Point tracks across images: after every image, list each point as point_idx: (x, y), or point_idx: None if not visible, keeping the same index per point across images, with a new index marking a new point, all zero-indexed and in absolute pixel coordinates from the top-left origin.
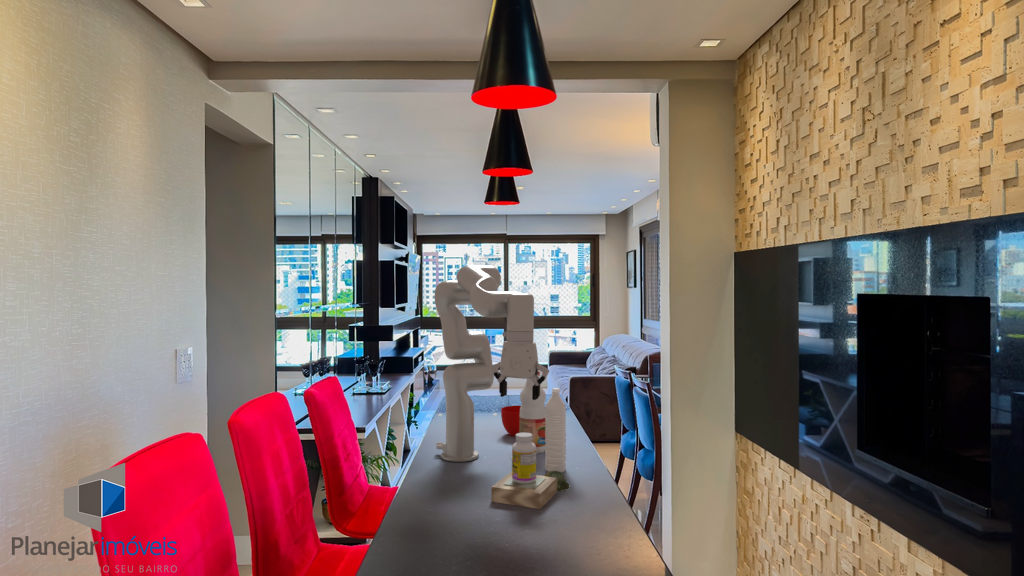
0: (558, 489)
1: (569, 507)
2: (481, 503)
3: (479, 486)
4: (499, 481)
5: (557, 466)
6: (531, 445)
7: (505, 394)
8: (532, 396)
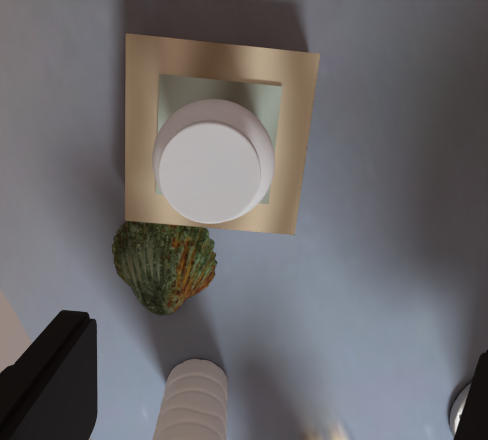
0: (135, 222)
1: (57, 86)
2: (337, 32)
3: (383, 184)
4: (307, 122)
5: (181, 373)
6: (164, 145)
7: (467, 421)
8: (78, 335)
